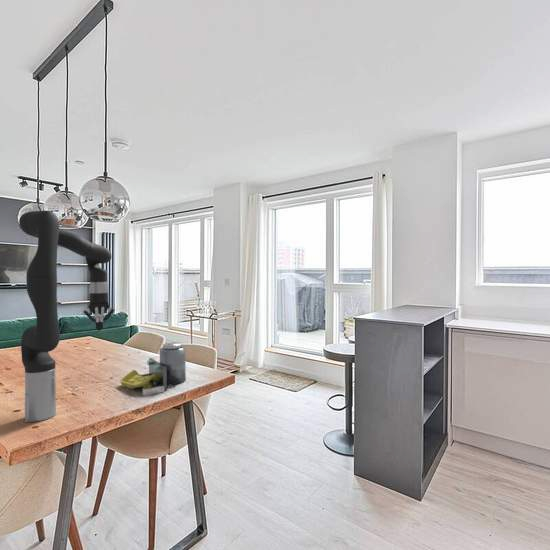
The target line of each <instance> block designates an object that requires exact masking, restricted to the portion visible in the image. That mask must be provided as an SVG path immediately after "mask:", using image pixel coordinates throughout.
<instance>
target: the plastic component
mask: <svg viewBox="0 0 550 550" xmlns="http://www.w3.org/2000/svg"><path fill="white" fill-rule="evenodd" d="M139 374H140V373H138V371H137V370H135V369H133V370H132V371H130V372H129V373H127V374H126V375H124V376H123V377H122V378H121V379H120V380H119V382H120V384H121V386H122V387H123V386H124V388H128V389H131V390H134V389H135V388H141V387H142V389H146V388H152V385H153V384H155V382H156V381H157V377H156V375H155V374H153V375H151V376H145V377H142V376H140V375H139Z"/></svg>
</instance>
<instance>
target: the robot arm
mask: <svg viewBox="0 0 550 550" xmlns="http://www.w3.org/2000/svg"><path fill="white" fill-rule="evenodd" d="M18 224H19V227H20V230H21V231H22V232H23V233H24V234H26V235H27V236H31V237H33V238H37V249H36V252H35V254H34V256H33V258H32V260H31V262H30V263H29V265H28V267H27V270H26V276H25V277H26V280H25V281H26V292H27V295H28V297H29V299H30V302H31V304H32V306H33V308H34V311H35V316H36V325H31V326H28V328H26V329H25V330H24V331H23V333H22V334H21V339H20V349H21V350H20V352H21V362H22V365H23V367H24V423H30V422H33V423H34V422H41V421H45V420H47V419H50V418H51V419H52V418H53V417H55V415H57V404H56V403H57V401H56V400H57V399H56V397H57V396H56V393H57V392H56V389H57V387H56V381H57V380H56V375H57V374H56V360H55V359H54V358H53V357H52V356H51V355H50V353H49V352H52V351H54V350H55V349H56V348H57V347H58V345H59V343H60V339H61V330H60V325H59V324H60V323H59V315H58V274H57V273H58V271H57V270H58V269H57V267H58V266H57V265H58V264H57V261H58V246H60V247H62V248H65V249H67V250H69V251H70V252H72V253H74V254H77V255H79V256H81V257H84V258H85V261H86V264H87V269H88V271H89V290H88V291H89V295H88V296H89V303H88V307H87V308H86V309H85V310H83V311H82V313H83V314H84V315H85V316H86V317H87V318H88V319H89V320H90V321H91V322H95V324H94V325H95V326H94V327H95V330H96V331H97V332H99V331H102V330H103V329H104V322H105V321H108V319H109V318H110V317H111V316H112V314H113V313H114V312H115V309H114V308H112V307H110V304H109V285H108V271H107V269H105V268H101V266H100V264H107V263H109V262H110V261H111V260H112V253H111V251H110V250H109V249H108V248H107V247H105V246H103V245H101V244H96V243H94V242H90V241H89V240H88V239H86V238H85V237H82V236H81V235H78V234H76V233H72V232H69V231H65V230H62V229H60V221H59V218H58V216H57V214H56V213H55V212H54V211H51V210H33V211H27V212H24V213H22V214H21V215H20V217H19V218H18ZM106 312H107V313H106ZM90 313H92V314H93V315H94V317H93V316H92V315H91V314H90ZM104 314H106V315H104Z"/></svg>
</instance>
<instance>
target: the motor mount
mask: <svg viewBox="0 0 550 550" xmlns="http://www.w3.org/2000/svg"><path fill="white" fill-rule="evenodd" d="M186 363H187V362H186V346H185V345H184V346H183V343H182V342H174V341H173V342H166V343H163V344H162V347H160V348H159V362H158V361H157V360H156V359H154V358H152V357H149V358H148V360H146V364H147V365H148V372H146V373H138V374H139V375H140V376H142V377H145V376H151V375H153V374H155V375H156V377H157V381H156V382H155V383H154V384H155V385H156V386H151V388H146V389H143V388H142V396H143V397H145V396H146V397H147V396H150V395H154V394H160V393H164V392H167V391H168V386H174V385H175V384H176V385H180V384H183V383H185V382H186V380H187V379H186V378H187V374H186V370H187V369H186V368H187V367H186ZM176 385H175V386H176Z"/></svg>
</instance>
